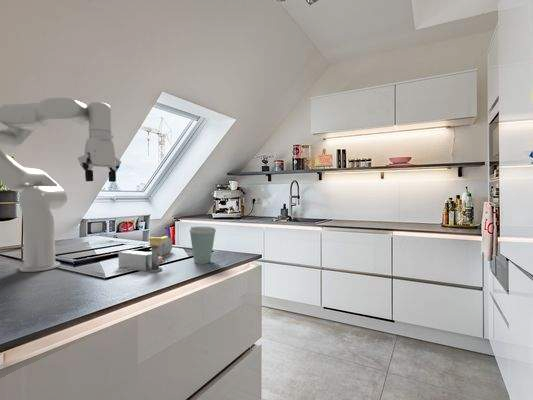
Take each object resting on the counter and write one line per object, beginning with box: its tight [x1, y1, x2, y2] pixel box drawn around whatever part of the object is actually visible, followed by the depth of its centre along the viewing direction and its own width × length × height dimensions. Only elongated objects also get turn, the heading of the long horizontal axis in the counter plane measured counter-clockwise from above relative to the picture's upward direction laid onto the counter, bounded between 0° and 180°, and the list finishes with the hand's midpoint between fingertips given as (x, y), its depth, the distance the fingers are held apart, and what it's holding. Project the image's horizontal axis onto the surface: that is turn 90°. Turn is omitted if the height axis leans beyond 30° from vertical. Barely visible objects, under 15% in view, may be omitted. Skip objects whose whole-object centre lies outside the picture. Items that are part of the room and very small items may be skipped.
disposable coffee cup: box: [189, 225, 217, 265], centre depth 126 cm, size 11×11×15 cm
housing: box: [117, 246, 163, 273], centre depth 116 cm, size 19×5×9 cm, turn 66°
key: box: [148, 235, 169, 247], centre depth 117 cm, size 11×4×3 cm, turn 172°
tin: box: [158, 235, 173, 257], centre depth 140 cm, size 15×3×8 cm, turn 172°
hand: (101, 181), depth 117 cm, fingers open, 9 cm apart
